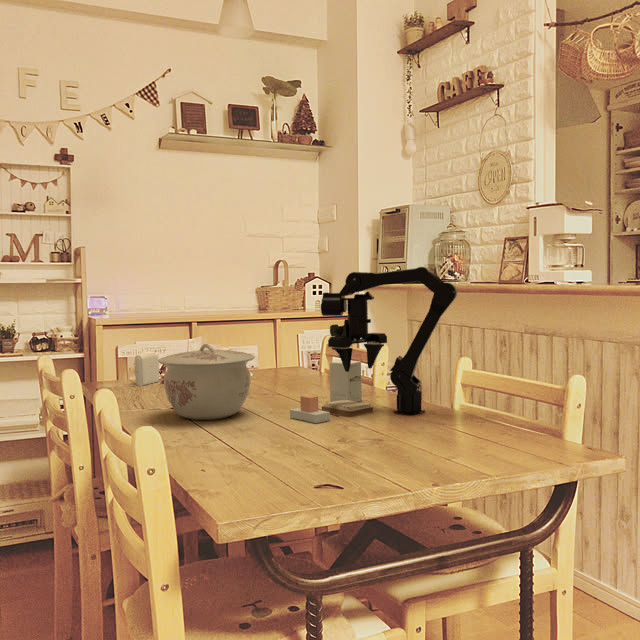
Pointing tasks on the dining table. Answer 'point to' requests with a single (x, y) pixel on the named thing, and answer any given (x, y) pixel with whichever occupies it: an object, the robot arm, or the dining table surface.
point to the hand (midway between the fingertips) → (358, 370)
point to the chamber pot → (207, 382)
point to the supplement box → (345, 382)
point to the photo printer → (146, 368)
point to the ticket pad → (347, 408)
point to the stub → (309, 410)
